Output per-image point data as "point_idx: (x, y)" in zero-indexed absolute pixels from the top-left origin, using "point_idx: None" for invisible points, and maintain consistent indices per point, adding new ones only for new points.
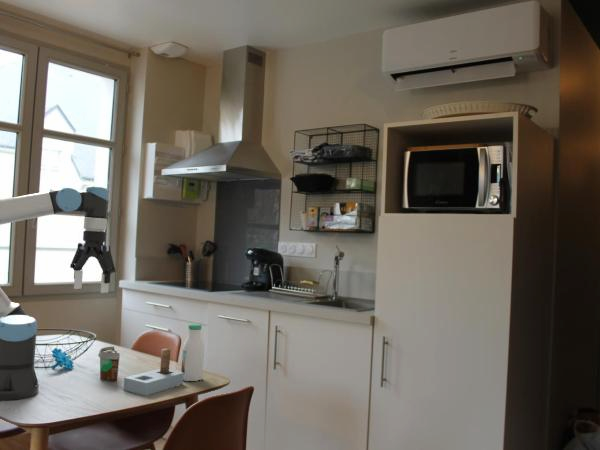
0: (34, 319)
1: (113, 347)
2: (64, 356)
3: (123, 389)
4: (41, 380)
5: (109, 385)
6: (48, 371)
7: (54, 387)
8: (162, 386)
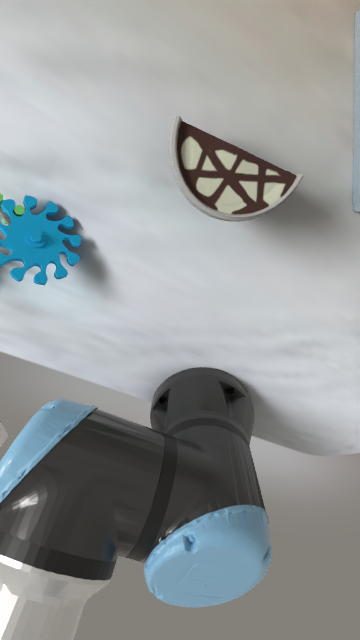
0: (234, 544)
1: (179, 121)
2: (33, 238)
3: (353, 210)
4: (137, 328)
5: (289, 217)
6: None
7: (213, 332)
8: None
